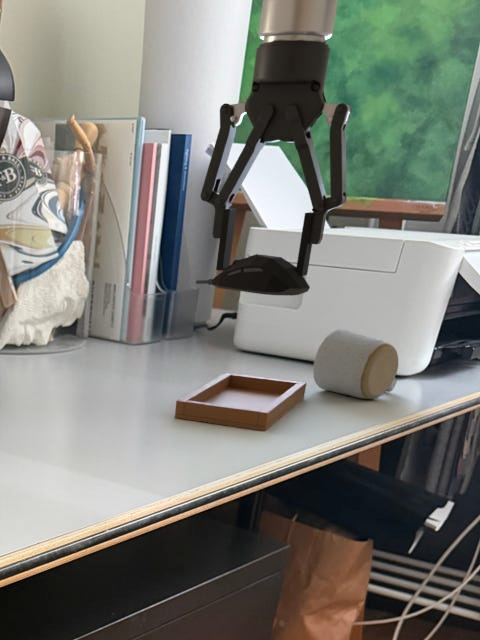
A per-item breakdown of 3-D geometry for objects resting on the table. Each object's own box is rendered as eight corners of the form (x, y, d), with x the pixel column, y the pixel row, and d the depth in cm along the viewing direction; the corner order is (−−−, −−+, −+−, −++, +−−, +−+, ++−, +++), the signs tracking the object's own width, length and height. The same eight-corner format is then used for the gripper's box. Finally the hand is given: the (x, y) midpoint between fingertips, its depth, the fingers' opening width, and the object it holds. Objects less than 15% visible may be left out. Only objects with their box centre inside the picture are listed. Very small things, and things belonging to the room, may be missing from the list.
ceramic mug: (360, 404, 116) (374, 340, 113) (307, 391, 122) (318, 330, 119) (409, 396, 122) (424, 335, 119) (356, 384, 128) (368, 326, 124)
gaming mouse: (211, 282, 116) (216, 247, 115) (318, 296, 107) (325, 258, 105) (180, 284, 113) (185, 249, 111) (288, 299, 103) (295, 260, 101)
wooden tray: (303, 398, 119) (306, 382, 118) (265, 431, 103) (267, 413, 102) (223, 388, 123) (225, 372, 122) (174, 417, 108) (176, 400, 107)
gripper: (406, 43, 97) (361, 276, 107) (207, 48, 106) (184, 263, 116) (395, 34, 91) (349, 282, 101) (185, 41, 100) (163, 268, 110)
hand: (261, 272), depth 108 cm, fingers closed on gaming mouse, 8 cm apart
